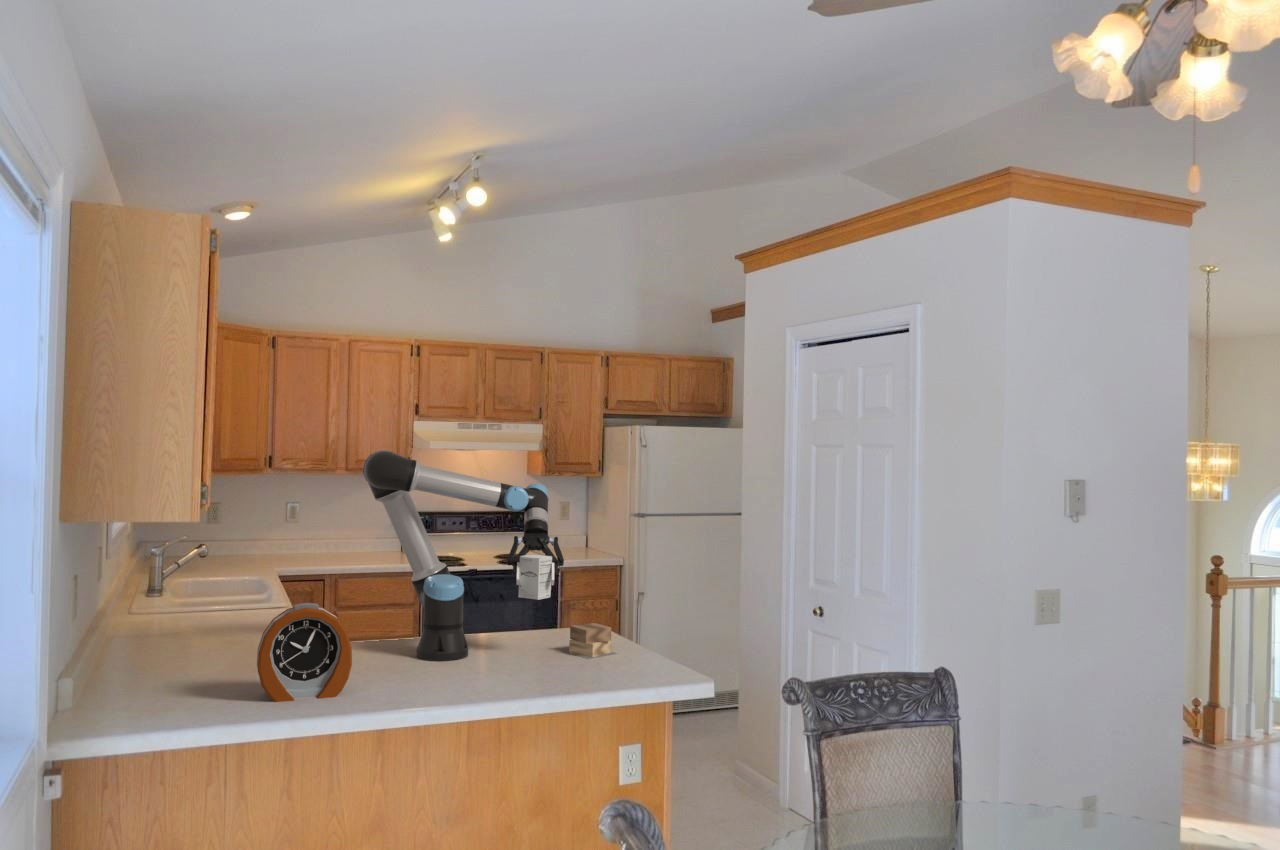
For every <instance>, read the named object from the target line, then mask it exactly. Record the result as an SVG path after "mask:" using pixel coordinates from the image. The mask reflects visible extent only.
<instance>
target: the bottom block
mask: <svg viewBox="0 0 1280 850" xmlns="http://www.w3.org/2000/svg"><path fill="white" fill-rule="evenodd" d="M568 649H569V651H568V652H569V653H570V654H576V655H581V656H587V657H596V656H600V655H604V654H608V653H611V652H612V640H611V641H605V642H597V643H589V644H585V643H582V642H578V641H575V640H572V639H570V640H569V647H568ZM570 654H569V655H570Z"/></svg>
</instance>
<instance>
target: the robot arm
mask: <svg viewBox="0 0 1280 850" xmlns="http://www.w3.org/2000/svg"><path fill="white" fill-rule="evenodd" d="M362 474H363V476H364V479H365V481H366V482H367V483H368V485H369V488H370V490H371V492H372V495H373V497H374V500H376V501H377V502H380V503H382V505H383V508H384V510H385V511H386V513H387V516H388V518H389V521H390V523H391V525H392V527H393V530H394V532H395V534H396V537H397V538H398V541H399V543H400V546H401V547H402V550H403V552H404V554H405V555H404V556H405V557H406V559H407V562H408V564H409V566H410V568H411V571H412V576H411V579H410V581H411V583H412V585H413V586H412V587H414V589H415V590H414V591H415V593H416V594H417V598H418V601H419V603H420V605H421V606H422V607H423V621H422V623H423V626H422V633H421V635H420V639H419V642H418V646H417V648H416V657H417V658H418V659H420V660H426V661H439V662H440V661H444V662H445V661H455V660H460V659H464V658H467V657H468V656H469V646H468V642H467V640H466V639H467V638H466V635H465V632H464V629H463V627H464V592H465V586H464V581H463V579H462V577H459V576H458V575H454V574H451V573H450V570H449V568H448V566H447V563H444V562H441V561H440V560H439V558H438V556H437V553H436V550H435V549H434V546H433V543H432V541H431V539H430V537H429V534H428V532H427V530H426V528H425V525H424V522H423V521H422V518H421V516H420V513H419V512H418V509H417V507H416V505H415V502H414V500H413V498H412V495H411V492H412V491H414V490H415V491H420V492H424V493H428V494H432V495H433V494H434V495H439V496H444V497H448V498H452V499H458V500H462V501H467V502H469V503H470V502H471V503H476V504H480V505H486V506H489V507H494V508H499V509H504V510H508V511H510V512H514V513H515V512H521V513H522V512H523V513H524V515H523V516H524V518H523V519H524V520H523V521H524V522H523V536H522V537H518V536H517V535H515V536H514V537H513V543H512V546H511V549H510V551H509V553H508V557H507V558H506V559H507V560H506V561H507V562H506V564H507V565H508V566H512V574H513V575H516V586H519V569H520V556H524V555H528V554H529V552H530V551H538V552H539V551H541V552H542V553H543V554H544V556H552V573H551V586H554V585H555V576H558V575H559V567H563V566H564V564H565V563H564V562H565V559H564V556H563V553H562V551H561V547H560V545H559V537H558V536H555V537H554V538H551V537H550V536H549V492H548V489H547V487H546V486H544V485H543V484H541V483H531V484H528V485H527V486H526V488H525V487H522V486H518V485H513V484H507V483H503V482H497V481H495V480H489V479H485V478H481V477H476V476H471V475H467V474H464V473H463V474H462V473H459V472H453V471H449V470H445V469H440V468H435V467H432V466H427V465H422V464H420V463H419V462H418V460H415V459H411V458H409V457H408V458H407V457H404V456H402V455H399V454H397V453H395V452H393V451H390V450H385V449H383V450H377V451H375V452H373V453H371V454H370V455H369V456H368V457H367V458H366V459H365V461H364V464H363V468H362ZM521 543H523V545H524V546H523V547H522V548H521V550H520V551H519V552H518V553H517V550H518V547H519V546H520V545H521ZM549 543H550V544H551V546H552V547H553V551H554V553H555V554H554V553H553V551H551V548H549V546H548V545H549ZM516 554H517V555H516Z"/></svg>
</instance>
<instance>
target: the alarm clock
mask: <svg viewBox="0 0 1280 850" xmlns="http://www.w3.org/2000/svg"><path fill="white" fill-rule="evenodd" d="M352 649H353V648H352V645H351V642H350V637H349V633H348V631H347V630H346V629H345V627H344V626H343V624H342V622H341V621H340V620H339V619H338V617H337V615H335V614H334V613H332V612H331V611H329V610H327V609H325V608H324V607H322V606H320V605H319V604H318V603H314V602H313V603H312V602H302V603H297V604H293V607H289V608H286V609H285V610H284V611H282V612H281V613H279V614H278V615H277V616H275V617H273V619H271V621H270V623H268V625H267V627H266V628H265V629H264V631H263V633H262V635H261V638H260V642H259V645H258V647H257V654H256V655H257V657H256V668H257V674H258V677H259V681H260V684H261V687H262V689H263V690H264V692H265V694H266V695H267V697H268V698H269V699H270V700H272V701H273V702H274V703H283V702H294V701H295V699H300V698H310V697H311V698H312V697H313V698H314V697H316V699H317V700H319V699H330V698H336V697H337V696H338V695H339V694H341V692H342V690H343V689H344V687H345V685H346V683H347V682H348V680H349V677H350V672H351V670H352V667H353V666H352V665H353V660H352V659H353V651H352Z"/></svg>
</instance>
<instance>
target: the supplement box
mask: <svg viewBox="0 0 1280 850" xmlns="http://www.w3.org/2000/svg"><path fill="white" fill-rule="evenodd" d="M551 573H552V556H546V555H543V554H526V555H524V556H520V567H519V585H518V598H523V599H530V600H536V601H538V600H539V601H540V600H543V599H549V598H551V594H552V593H551V591H552V585H551Z"/></svg>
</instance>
